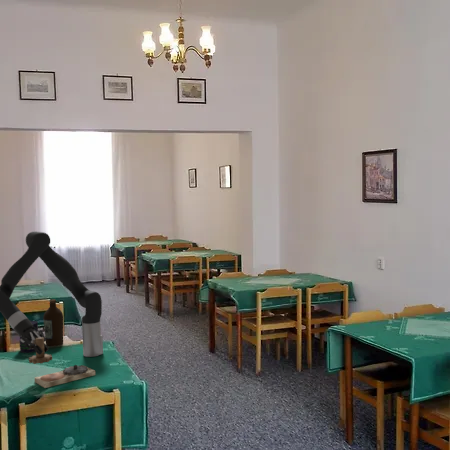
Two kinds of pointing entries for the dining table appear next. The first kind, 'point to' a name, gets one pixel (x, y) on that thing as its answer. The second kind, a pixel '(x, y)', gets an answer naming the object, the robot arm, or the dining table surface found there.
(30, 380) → the dining table surface
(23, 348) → the storage jar
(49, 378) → the gear board
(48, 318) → the olive oil
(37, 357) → the walnut gear
